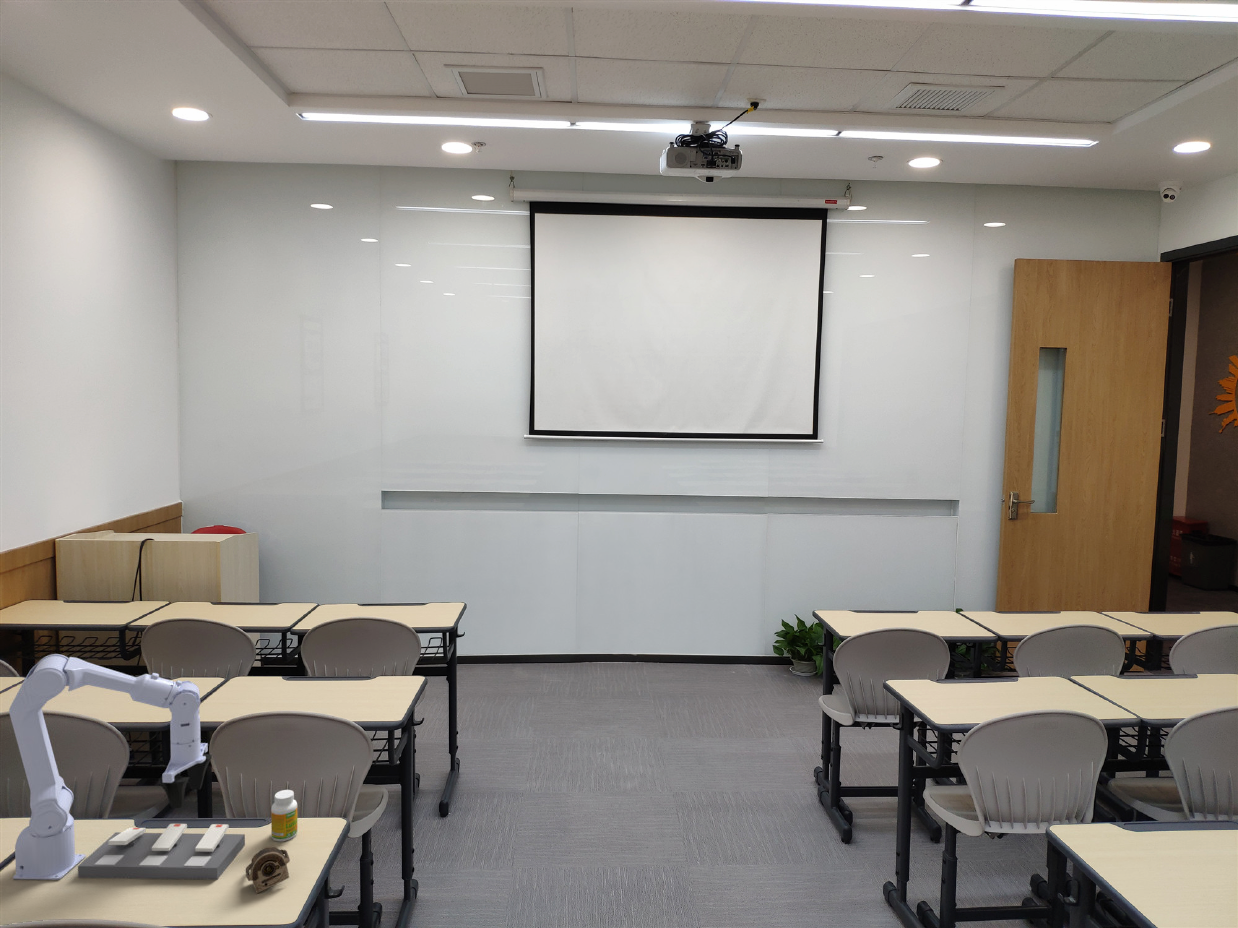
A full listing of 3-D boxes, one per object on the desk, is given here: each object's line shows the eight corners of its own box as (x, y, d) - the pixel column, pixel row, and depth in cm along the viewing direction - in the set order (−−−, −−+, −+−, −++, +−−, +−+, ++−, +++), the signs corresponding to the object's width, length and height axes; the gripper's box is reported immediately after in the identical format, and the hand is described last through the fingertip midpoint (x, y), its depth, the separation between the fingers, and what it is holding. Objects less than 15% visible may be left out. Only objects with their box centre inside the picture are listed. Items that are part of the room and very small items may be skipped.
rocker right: (195, 852, 159) (195, 847, 158) (212, 828, 165) (211, 823, 165) (213, 852, 159) (212, 847, 158) (229, 828, 165) (228, 824, 165)
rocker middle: (152, 852, 158) (151, 847, 158) (170, 828, 165) (170, 823, 165) (169, 852, 158) (168, 847, 158) (187, 828, 165) (186, 823, 165)
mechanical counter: (227, 872, 148) (279, 858, 150) (247, 830, 161) (295, 817, 162) (237, 903, 150) (289, 889, 151) (257, 858, 162) (304, 846, 164)
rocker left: (108, 846, 158) (108, 840, 158) (128, 833, 165) (129, 827, 165) (125, 846, 158) (126, 840, 158) (145, 833, 165) (145, 827, 165)
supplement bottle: (287, 843, 167) (287, 801, 166) (266, 840, 168) (265, 798, 168) (302, 830, 173) (302, 789, 172) (281, 826, 174) (281, 786, 173)
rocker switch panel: (78, 877, 154) (77, 863, 153) (115, 843, 165) (115, 829, 165) (217, 879, 154) (217, 864, 154) (244, 844, 166) (244, 831, 166)
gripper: (185, 754, 159) (186, 815, 160) (220, 724, 174) (221, 781, 175) (151, 753, 159) (153, 815, 160) (189, 724, 173) (190, 780, 175)
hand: (186, 797), depth 167 cm, fingers open, 7 cm apart
